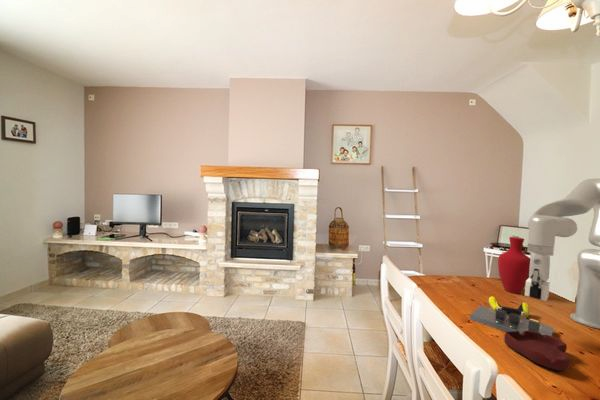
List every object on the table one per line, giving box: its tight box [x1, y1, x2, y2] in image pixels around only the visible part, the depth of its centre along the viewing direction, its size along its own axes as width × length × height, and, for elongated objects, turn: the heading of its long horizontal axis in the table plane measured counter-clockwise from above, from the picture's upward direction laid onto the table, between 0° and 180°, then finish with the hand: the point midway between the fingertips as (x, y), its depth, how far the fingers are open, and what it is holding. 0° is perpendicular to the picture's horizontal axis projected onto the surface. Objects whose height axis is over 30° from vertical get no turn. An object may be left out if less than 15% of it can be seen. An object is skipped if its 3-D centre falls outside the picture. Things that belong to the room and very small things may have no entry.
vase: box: [497, 236, 530, 295], centre depth 150 cm, size 15×15×30 cm
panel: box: [469, 305, 555, 337], centre depth 112 cm, size 25×15×6 cm, turn 42°
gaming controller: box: [488, 296, 531, 319], centre depth 123 cm, size 15×6×10 cm
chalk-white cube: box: [524, 278, 550, 302], centre depth 104 cm, size 6×6×6 cm
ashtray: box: [503, 331, 571, 373], centre depth 92 cm, size 18×16×5 cm
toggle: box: [528, 317, 541, 332], centre depth 105 cm, size 3×3×4 cm
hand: (536, 295), depth 105 cm, fingers closed on chalk-white cube, 6 cm apart
